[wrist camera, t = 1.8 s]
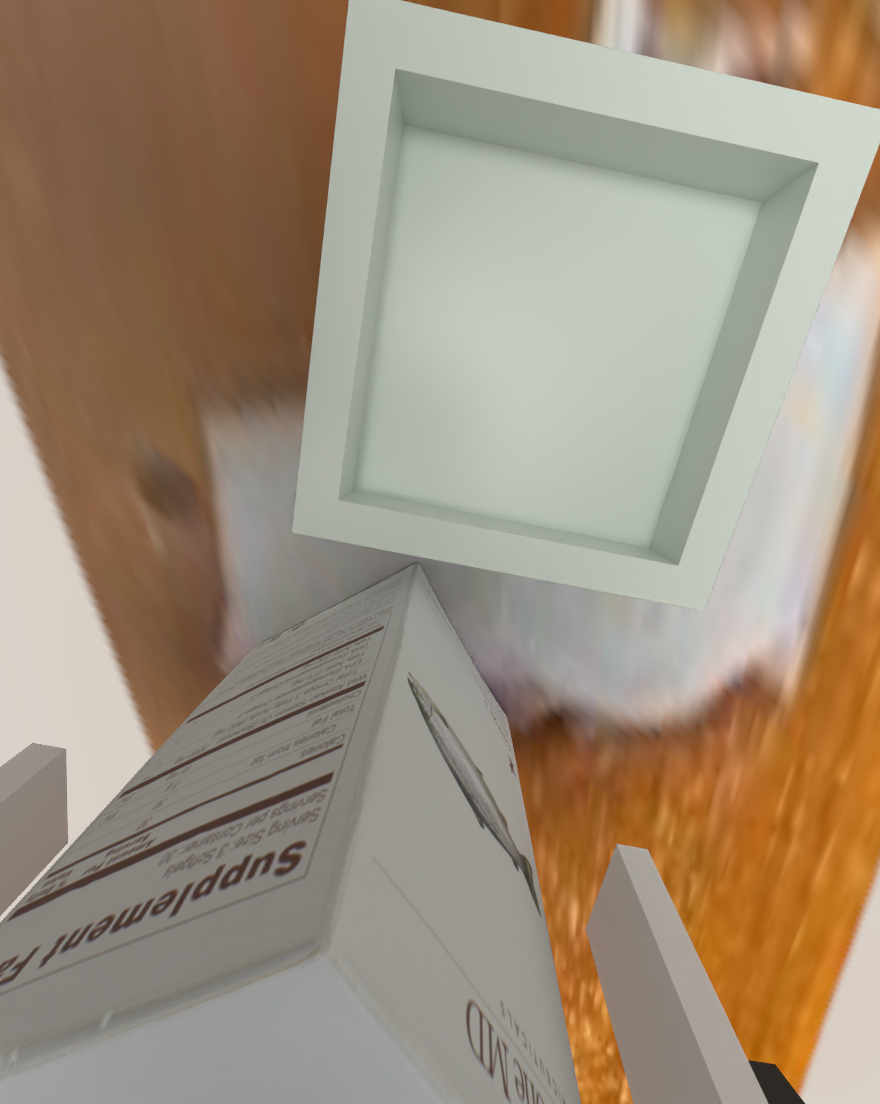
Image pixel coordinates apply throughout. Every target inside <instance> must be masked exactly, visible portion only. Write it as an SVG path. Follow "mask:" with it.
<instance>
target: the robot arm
mask: <svg viewBox="0 0 880 1104" xmlns="http://www.w3.org/2000/svg"><path fill="white" fill-rule="evenodd" d="M67 843H68V823H67V775H66V749H64V748H58V747H52V746H47V745H41V744H35V743H32V744H31V745H29V746H28V747H27V748H25V749H24V750H23V751H21V752H20V753H19V754H17V755H16V756H15V757H13V758H12V759H11V760H9V761H8V762H7V763H5V764H4V765H3V766H1V767H0V916H1V915H2V914H3V912H4V911H5V910H6V909H7V908H8V907H9V906H10V905H11V904H12V903H13V902H14V900H15V899H16V898H17V897H18V896H19V895H20V894H21V893H22V892H23V891H24V890H25V889H26V888H27V887H28V885H29V884H30V883H31V882H32V881H33V880H34V879H35V878H36V877H37V876H38V874H40V872H41V871H42V870H43V869H44V868H45V867H46V866H47V865H48V864H49V863H50V862H51V861H52V859H53V858H54V857H55V856H56V855H57V854H58V853H59V852H60V851H61V850H62V849H63V848H64V846H65V845H66V844H67ZM586 932H587V936H588V939H589V943H590V947H591V950H592V954H593V957H594V961H595V965H596V968H597V972H598V976H599V979H600V983H601V987H602V990H603V994H604V997H605V1001H606V1005H607V1008H608V1012H609V1016H610V1019H611V1023H612V1026H613V1030H614V1034H615V1037H616V1041H617V1045H618V1048H619V1052H620V1056H621V1059H622V1063H623V1066H624V1070H625V1074H626V1077H627V1081H628V1085H629V1088H630V1092H631V1096H632V1099H633V1103H634V1104H805V1103H804V1102H803V1100H802V1099H801V1098H800V1096H799V1095H798V1094H797V1093H796V1091H795V1090H794V1089H793V1087H792V1086H791V1085H790V1083H789V1082H788V1081H787V1079H786V1078H785V1077H784V1076H783V1074H782V1073H781V1072H780V1070H779V1069H778V1068H777V1066H776V1065H775V1064H769V1063H763V1062H756V1061H750V1060H747V1057H746V1055H745V1053H744V1051H743V1049H742V1047H741V1045H740V1043H739V1041H738V1039H737V1036H736V1034H735V1032H734V1030H733V1028H732V1026H731V1024H730V1022H729V1020H728V1018H727V1015H726V1013H725V1011H724V1009H723V1007H722V1005H721V1003H720V1001H719V999H718V996H717V994H716V992H715V990H714V988H713V986H712V984H711V982H710V980H709V978H708V975H707V973H706V971H705V969H704V967H703V965H702V963H701V961H700V959H699V957H698V954H697V952H696V950H695V948H694V946H693V944H692V942H691V940H690V938H689V936H688V933H687V931H686V929H685V927H684V925H683V923H682V921H681V919H680V917H679V914H678V912H677V910H676V908H675V906H674V904H673V902H672V900H671V898H670V896H669V893H668V891H667V889H666V887H665V885H664V883H663V881H662V879H661V877H660V875H659V872H658V870H657V868H656V866H655V864H654V862H653V860H652V858H651V856H650V854H649V851H648V849H643V848H637V847H631V846H625V845H620V844H616V847H615V850H614V853H613V855H612V858H611V861H610V864H609V866H608V869H607V872H606V875H605V877H604V880H603V883H602V886H601V888H600V891H599V894H598V897H597V899H596V902H595V905H594V908H593V910H592V913H591V916H590V919H589V921H588V924H587V927H586Z"/></svg>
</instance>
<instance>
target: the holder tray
mask: <svg viewBox="0 0 880 1104" xmlns="http://www.w3.org/2000/svg"><path fill="white" fill-rule="evenodd" d="M879 144H880V109H876V108H871V107H867V106H863V105H858V104H854V103H849V102H845V101H841V100H836V99H832V98H827V97H823V96H819V95H814V94H810V93H805V92H801V91H797V90H792V89H788V88H783V87H779V86H775V85H770V84H766V83H762V82H757V81H753V80H748V79H744V78H740V77H735V76H731V75H726V74H722V73H718V72H713V71H709V70H704V69H700V68H696V67H691V66H687V65H682V64H678V63H674V62H669V61H665V60H660V59H656V58H652V57H647V56H643V55H639V54H634V53H630V52H625V51H621V50H617V49H612V48H608V47H603V46H599V45H595V44H590V43H586V42H581V41H577V40H573V39H568V38H564V37H559V36H555V35H551V34H546V33H542V32H538V31H533V30H529V29H524V28H520V27H516V26H511V25H507V24H502V23H498V22H494V21H489V20H485V19H480V18H476V17H472V16H467V15H463V14H458V13H454V12H450V11H445V10H441V9H436V8H432V7H428V6H423V5H419V4H415V3H410V2H406V1H401V0H349V4H348V13H347V23H346V32H345V41H344V51H343V60H342V69H341V79H340V88H339V97H338V106H337V116H336V125H335V134H334V144H333V153H332V162H331V172H330V181H329V190H328V200H327V209H326V218H325V228H324V237H323V246H322V255H321V265H320V274H319V283H318V293H317V302H316V311H315V321H314V330H313V339H312V349H311V358H310V367H309V376H308V386H307V395H306V404H305V414H304V423H303V432H302V442H301V451H300V460H299V470H298V479H297V488H296V498H295V507H294V516H293V525H292V533H296V534H301V535H307V536H312V537H317V538H322V539H328V540H333V541H338V542H343V543H349V544H354V545H359V546H364V547H370V548H375V549H380V550H385V551H391V552H396V553H401V554H406V555H412V556H417V557H422V558H427V559H433V560H438V561H443V562H448V563H454V564H459V565H464V566H469V567H475V568H480V569H485V570H490V571H496V572H501V573H506V574H511V575H517V576H522V577H527V578H532V579H538V580H543V581H548V582H553V583H559V584H564V585H569V586H574V587H580V588H585V589H590V590H595V591H601V592H606V593H611V594H616V595H622V596H627V597H632V598H637V599H643V600H648V601H653V602H658V603H664V604H669V605H674V606H679V607H685V608H690V609H695V610H700V611H704V610H705V607H706V604H707V602H708V599H709V596H710V594H711V591H712V588H713V586H714V583H715V580H716V578H717V575H718V572H719V570H720V567H721V564H722V562H723V559H724V556H725V554H726V551H727V548H728V546H729V543H730V540H731V538H732V535H733V532H734V530H735V527H736V525H737V522H738V519H739V517H740V514H741V511H742V509H743V506H744V503H745V501H746V498H747V495H748V493H749V490H750V487H751V485H752V482H753V479H754V477H755V474H756V471H757V469H758V466H759V463H760V461H761V458H762V455H763V453H764V450H765V447H766V445H767V442H768V439H769V437H770V434H771V431H772V429H773V426H774V423H775V421H776V418H777V415H778V413H779V410H780V407H781V405H782V402H783V399H784V397H785V394H786V391H787V389H788V386H789V383H790V381H791V378H792V375H793V373H794V370H795V367H796V365H797V362H798V359H799V357H800V354H801V351H802V349H803V346H804V343H805V341H806V338H807V335H808V333H809V330H810V327H811V325H812V322H813V319H814V317H815V314H816V311H817V309H818V306H819V303H820V301H821V298H822V295H823V293H824V290H825V287H826V285H827V282H828V279H829V277H830V274H831V272H832V269H833V266H834V264H835V261H836V258H837V256H838V253H839V250H840V248H841V245H842V242H843V240H844V237H845V234H846V232H847V229H848V226H849V224H850V221H851V218H852V216H853V213H854V210H855V208H856V205H857V202H858V200H859V197H860V194H861V192H862V189H863V186H864V184H865V181H866V178H867V176H868V173H869V170H870V168H871V165H872V162H873V160H874V157H875V154H876V152H877V149H878V146H879Z"/></svg>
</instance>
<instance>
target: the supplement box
mask: <svg viewBox="0 0 880 1104" xmlns="http://www.w3.org/2000/svg"><path fill="white" fill-rule="evenodd" d="M0 1104H581V1100H580V1095H579V1090H578V1085H577V1080H576V1075H575V1070H574V1064H573V1059H572V1054H571V1049H570V1044H569V1039H568V1034H567V1028H566V1023H565V1018H564V1013H563V1008H562V1003H561V997H560V992H559V987H558V981H557V976H556V971H555V965H554V960H553V955H552V949H551V944H550V939H549V933H548V928H547V923H546V918H545V913H544V908H543V902H542V897H541V891H540V886H539V880H538V875H537V870H536V864H535V859H534V854H533V848H532V843H531V838H530V833H529V827H528V822H527V817H526V812H525V807H524V802H523V797H522V792H521V786H520V781H519V775H518V770H517V764H516V759H515V754H514V749H513V744H512V739H511V734H510V729H509V724H508V720H507V717H506V715H505V713H504V712H503V710H502V709H501V707H500V706H499V704H498V703H497V701H496V700H495V698H494V696H493V695H492V693H491V692H490V690H489V688H488V687H487V685H486V684H485V682H484V680H483V679H482V677H481V675H480V674H479V672H478V670H477V669H476V667H475V665H474V664H473V662H472V660H471V658H470V657H469V655H468V653H467V651H466V650H465V648H464V646H463V644H462V642H461V641H460V639H459V637H458V635H457V634H456V632H455V630H454V628H453V626H452V624H451V623H450V621H449V619H448V617H447V615H446V614H445V612H444V610H443V608H442V606H441V604H440V603H439V601H438V599H437V597H436V595H435V593H434V591H433V589H432V587H431V585H430V584H429V582H428V580H427V578H426V576H425V574H424V572H423V570H422V568H421V566H420V565H419V564H418V563H416V564H413V565H411V566H410V567H408V568H406V569H404V570H403V571H401V572H399V573H397V574H395V575H393V576H391V577H389V578H387V579H385V580H383V581H381V582H380V583H378V584H376V585H374V586H372V587H370V588H368V589H366V590H364V591H362V592H360V593H358V594H356V595H354V596H352V597H350V598H348V599H347V600H344V601H342V602H340V603H339V604H337V605H335V606H333V607H331V608H329V609H327V610H325V611H323V612H321V613H319V614H317V615H315V616H313V617H311V618H309V619H307V620H305V621H304V622H301V623H299V624H297V625H296V626H294V627H292V628H290V629H288V630H286V631H284V632H282V633H280V634H278V635H276V636H274V637H272V638H270V639H268V640H266V641H264V642H262V643H261V644H259V645H257V646H255V647H254V648H253V649H252V650H251V651H250V652H249V653H248V654H247V655H246V656H245V657H244V658H243V659H242V660H241V661H240V662H239V663H238V665H237V666H236V667H235V668H234V669H233V670H232V671H231V672H230V673H229V674H228V675H227V676H226V677H225V678H224V679H223V680H222V682H221V683H220V684H219V685H218V686H217V687H216V688H215V689H214V690H213V691H212V692H211V693H210V694H209V695H208V696H207V697H206V698H205V699H204V700H203V701H202V703H201V704H200V705H199V706H198V707H197V708H196V709H195V710H194V711H193V712H192V713H191V714H190V716H189V717H188V718H187V719H186V720H185V721H184V722H183V723H182V724H181V725H180V726H179V728H178V729H177V730H176V731H175V732H174V733H173V734H172V735H171V736H170V737H169V738H168V740H167V741H166V742H165V743H164V744H163V745H162V746H161V747H160V748H159V749H158V751H157V752H156V753H155V754H154V755H153V756H152V757H151V758H150V759H149V760H148V761H147V762H146V764H145V765H144V766H143V767H142V768H141V769H140V770H139V771H138V772H137V773H136V774H135V775H134V777H133V778H132V779H131V780H130V781H129V782H128V783H127V784H126V786H125V787H124V788H123V789H122V790H121V791H120V792H119V794H117V795H116V797H115V798H114V799H113V800H112V801H111V802H110V803H109V804H108V805H107V806H106V808H105V809H104V810H103V811H102V812H101V813H100V814H99V815H98V816H97V818H96V819H95V820H94V821H93V822H92V823H91V824H90V825H89V826H88V827H87V829H86V830H85V831H84V832H83V833H82V834H81V835H80V836H79V837H78V838H77V840H75V842H74V843H73V844H72V845H71V846H70V847H69V848H68V849H67V850H66V851H65V852H64V854H63V855H62V856H61V857H60V858H59V859H58V860H57V861H56V862H55V863H54V864H53V866H52V867H51V868H50V869H49V870H48V871H47V872H46V873H45V874H44V875H43V877H42V878H41V879H40V880H39V881H38V882H37V883H36V884H35V885H34V886H33V887H32V889H31V890H30V891H29V892H28V893H27V894H26V895H25V896H24V897H23V898H22V900H21V901H20V902H19V903H18V904H17V905H16V906H15V907H14V908H13V909H12V910H11V911H10V912H9V914H8V915H7V916H6V917H5V918H4V919H3V920H2V921H1V923H0Z"/></svg>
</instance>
